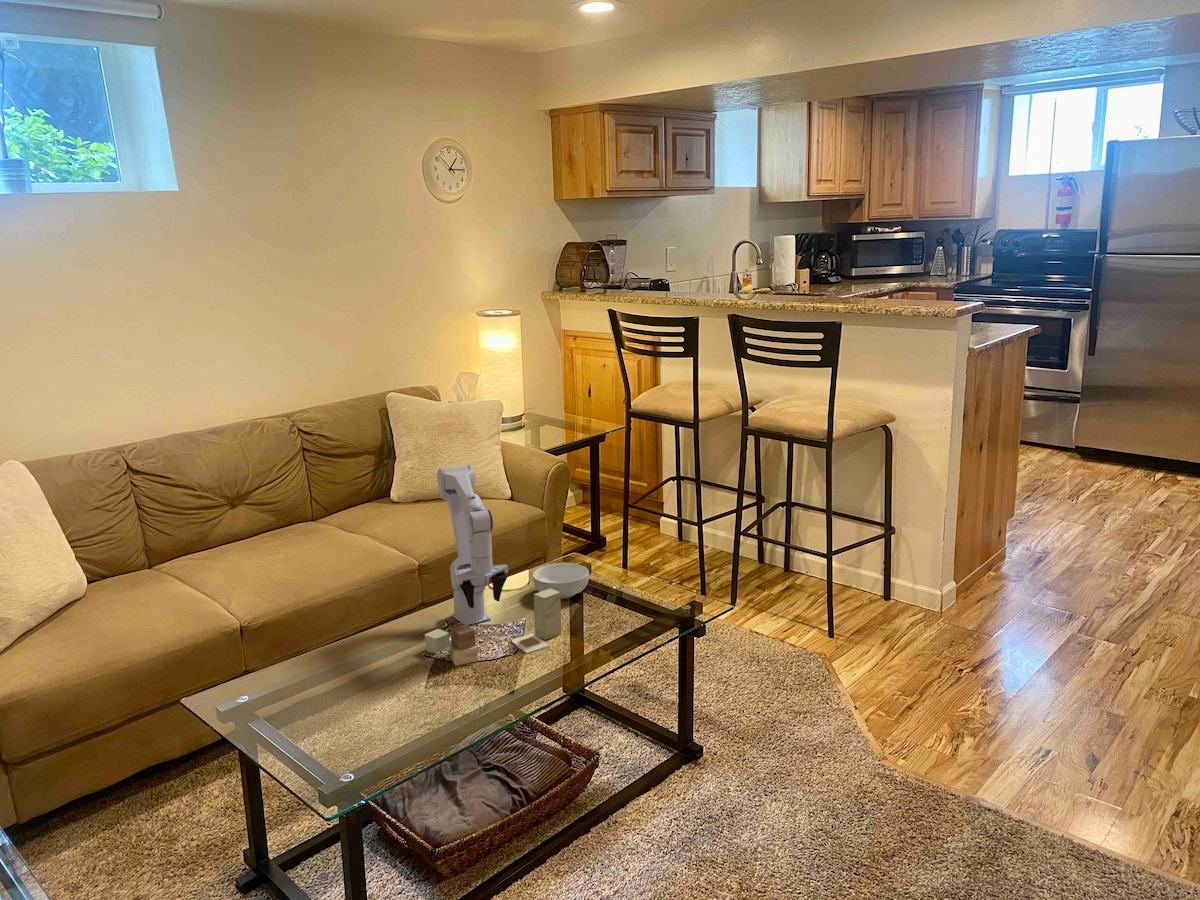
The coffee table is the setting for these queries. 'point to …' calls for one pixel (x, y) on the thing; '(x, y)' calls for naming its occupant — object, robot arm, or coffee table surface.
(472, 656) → the maple base
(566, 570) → the cereal bowl
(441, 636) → the sage cube
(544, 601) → the skincare box
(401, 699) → the coffee table surface
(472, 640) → the walnut cube
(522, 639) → the card
